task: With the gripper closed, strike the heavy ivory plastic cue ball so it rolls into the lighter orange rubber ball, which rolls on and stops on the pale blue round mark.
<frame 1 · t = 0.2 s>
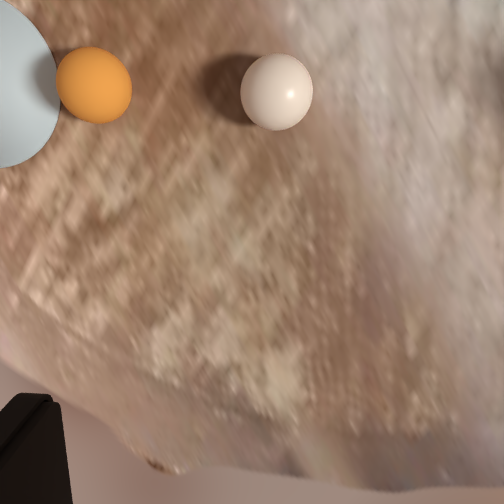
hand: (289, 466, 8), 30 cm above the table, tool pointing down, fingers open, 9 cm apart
orange ball: (94, 86, 33), on the table
cue ball: (276, 93, 32), on the table
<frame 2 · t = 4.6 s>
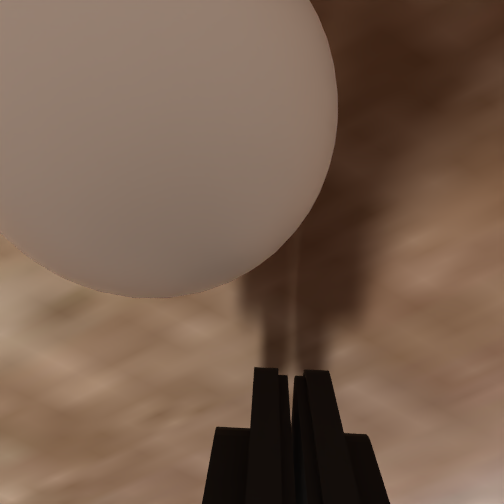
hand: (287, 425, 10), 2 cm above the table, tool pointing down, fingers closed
cue ball: (156, 119, 7), on the table
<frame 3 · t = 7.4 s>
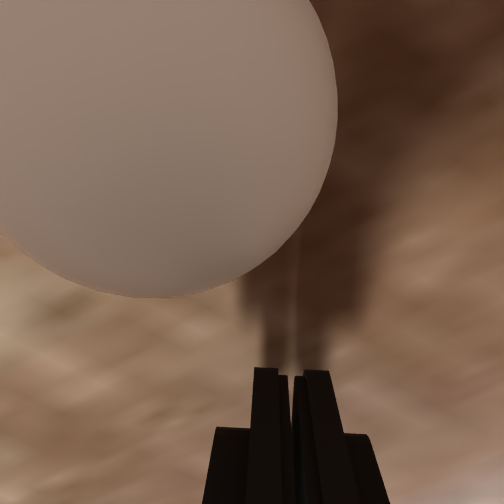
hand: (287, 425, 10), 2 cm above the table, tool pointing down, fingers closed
cue ball: (156, 119, 7), on the table
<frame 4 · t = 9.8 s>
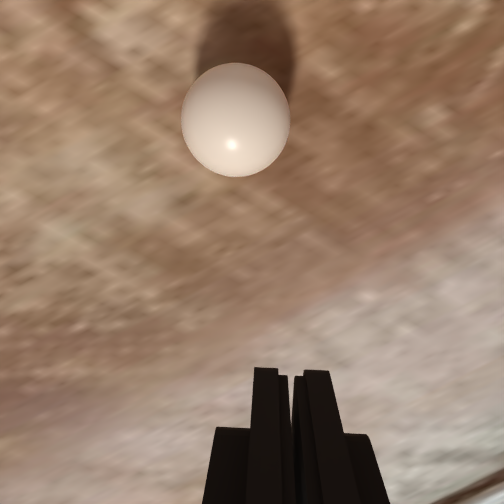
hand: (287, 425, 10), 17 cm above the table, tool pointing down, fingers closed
cue ball: (235, 121, 21), on the table
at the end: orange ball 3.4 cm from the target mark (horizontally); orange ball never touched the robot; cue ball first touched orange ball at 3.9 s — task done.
